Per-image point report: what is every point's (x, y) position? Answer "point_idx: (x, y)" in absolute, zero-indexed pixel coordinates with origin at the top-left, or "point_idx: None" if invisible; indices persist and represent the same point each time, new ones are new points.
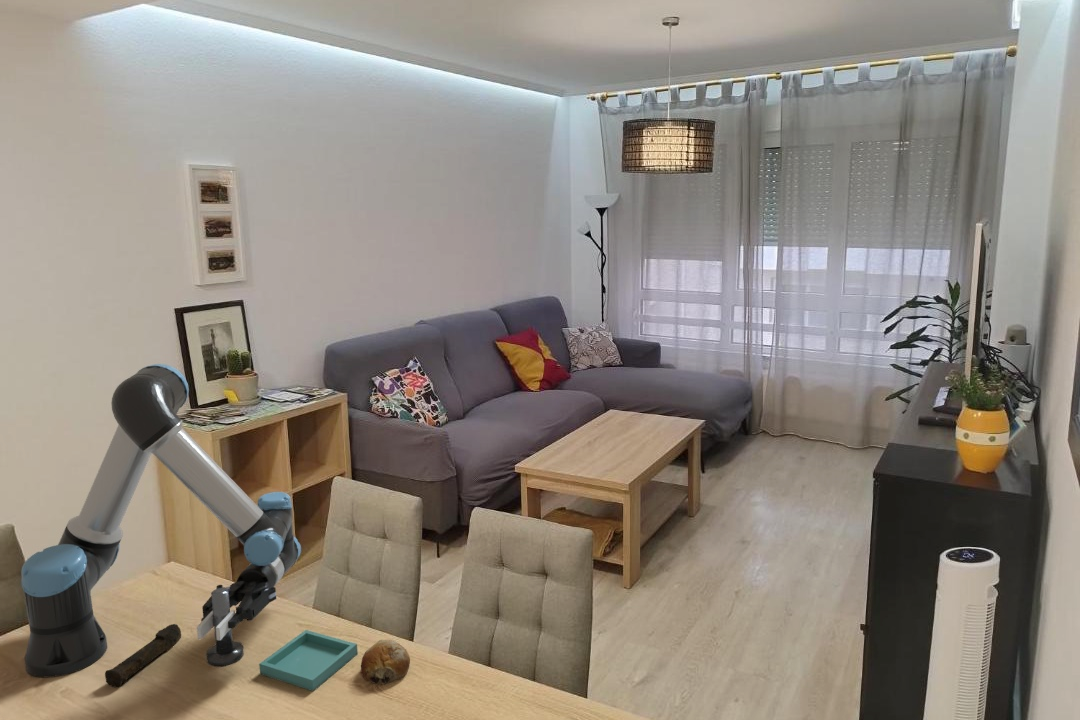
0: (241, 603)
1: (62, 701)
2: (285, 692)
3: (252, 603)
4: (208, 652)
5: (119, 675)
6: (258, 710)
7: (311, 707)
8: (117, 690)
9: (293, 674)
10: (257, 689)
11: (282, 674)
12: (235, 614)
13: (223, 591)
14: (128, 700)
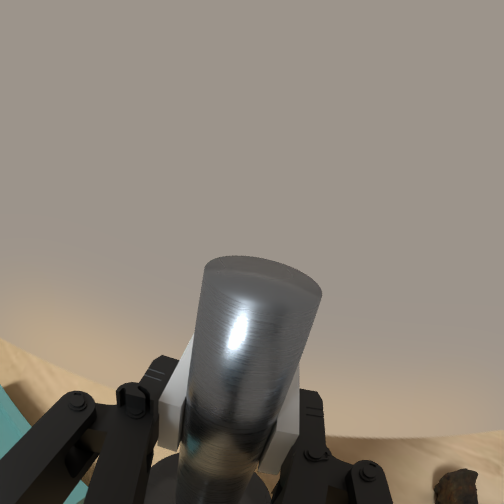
0: (125, 478)
1: (478, 451)
2: (45, 412)
3: (50, 448)
4: (263, 495)
5: (447, 473)
6: (103, 387)
7: (17, 356)
8: (430, 484)
9: (15, 406)
10: None
11: None
12: (155, 406)
13: (239, 275)
14: (389, 462)
